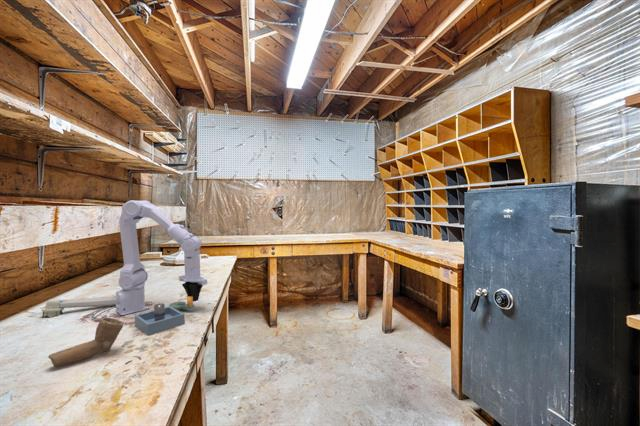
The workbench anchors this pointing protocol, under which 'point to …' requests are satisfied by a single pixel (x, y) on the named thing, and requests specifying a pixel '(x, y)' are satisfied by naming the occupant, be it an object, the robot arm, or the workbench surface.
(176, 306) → the crank
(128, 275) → the robot arm
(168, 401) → the workbench surface
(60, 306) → the grey long piece
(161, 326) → the tray
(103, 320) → the pipe
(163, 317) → the pin
